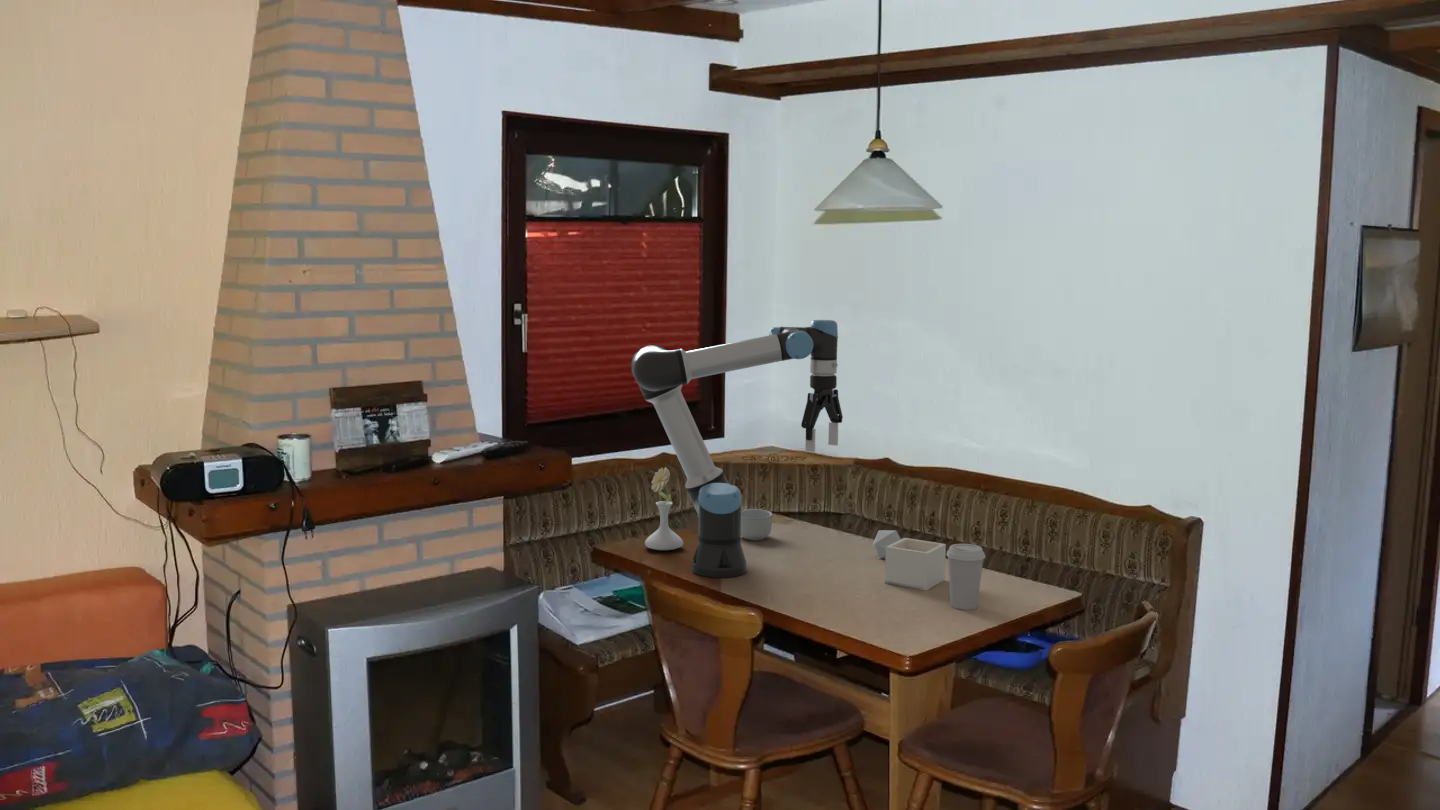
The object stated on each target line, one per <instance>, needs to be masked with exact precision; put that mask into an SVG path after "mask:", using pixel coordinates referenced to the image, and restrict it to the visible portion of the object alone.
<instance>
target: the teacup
mask: <svg viewBox="0 0 1440 810" xmlns="http://www.w3.org/2000/svg"><path fill="white" fill-rule="evenodd" d="M772 520H773V513H772V512H771V511H769V510H765V509H760V508H758V509H757V508H748V509H743V510H742V509H741V536H742V538H743V539H745V540H748V541H762V540H764V539H766V538H767V537H768V536H770V534H771V531H772V528H773V527H772V525H773V524H772V522H773V521H772Z"/></svg>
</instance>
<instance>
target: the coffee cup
mask: <svg viewBox="0 0 1440 810" xmlns="http://www.w3.org/2000/svg"><path fill="white" fill-rule="evenodd" d="M946 556H947V560H948V576H949V577H948V579H949V596H950V597H949V600H950V606H951V608H954V609H956V610H963V611H971V610H975V609H977V608H978V603H979V594H980V587H981V579H982V571H983V564H984V559H985V558H986V554H985V552H984V550H983V547H981V546H980V545H976V544H972V543H955V544H951V545H950V546H949V548H948V549H947V551H946V554H945V557H946Z"/></svg>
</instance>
